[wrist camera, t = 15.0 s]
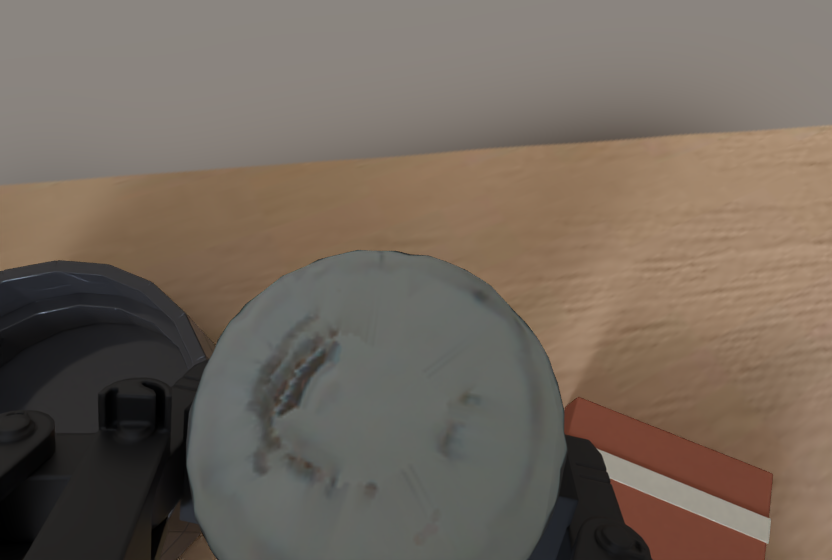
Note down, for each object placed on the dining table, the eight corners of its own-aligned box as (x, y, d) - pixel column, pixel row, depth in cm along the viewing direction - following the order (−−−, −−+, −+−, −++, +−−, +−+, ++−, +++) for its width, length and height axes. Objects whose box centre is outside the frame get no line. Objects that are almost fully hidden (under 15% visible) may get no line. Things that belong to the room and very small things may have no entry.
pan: (293, 366, 27) (273, 331, 22) (124, 687, 21) (51, 728, 17) (58, 267, 29) (-4, 218, 24) (-158, 537, 23) (-292, 537, 18)
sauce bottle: (288, 476, 24) (-41, 273, 6) (407, 402, 25) (429, 71, 8) (360, 622, 21) (174, 1012, 4) (487, 531, 23) (791, 491, 5)
